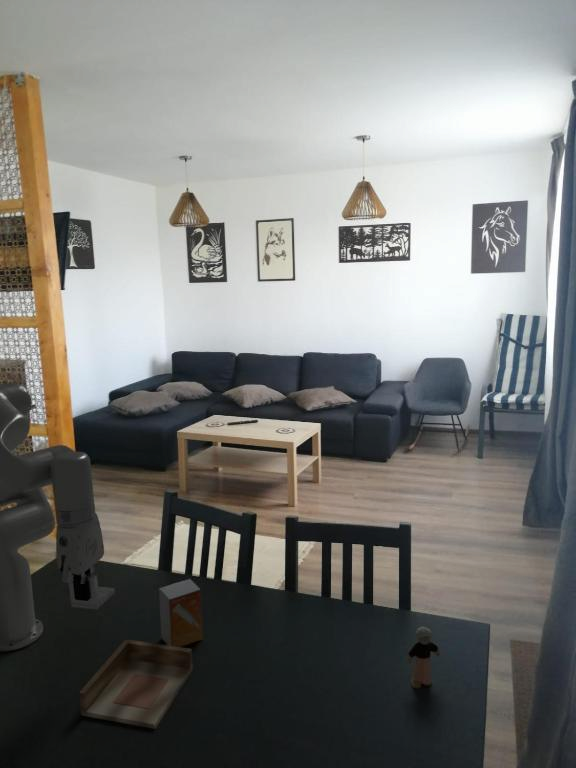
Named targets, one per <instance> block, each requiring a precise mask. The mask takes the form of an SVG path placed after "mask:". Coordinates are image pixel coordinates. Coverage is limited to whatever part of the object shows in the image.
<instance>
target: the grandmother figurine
mask: <svg viewBox="0 0 576 768" xmlns="http://www.w3.org/2000/svg"><path fill="white" fill-rule="evenodd" d="M415 637H416V639H417V640H418V642H416V643H415V644H414V645H413V646H412V648H411V649H410V651H409V652H408V654H407V656H406V658H405V664H410V663H411V661H412V659H413V658H414V662H413V669H412V677H411V681H410V682H411V686H412V688H414V689H420V688H422V685H424V686H432V684H433V682H432V680H431V658H432V657H431V652H432V653H434V655H435V656H436V657H439V656H441V653H440V651H439V647H438V645H436V644H435V643H434V642H431V638H432V637H433V632H432V630H431V629H430V628H428V627H426V626H420V627H418V628H417V629H416V631H415Z"/></svg>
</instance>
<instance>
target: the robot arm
mask: <svg viewBox="0 0 576 768" xmlns="http://www.w3.org/2000/svg"><path fill="white" fill-rule="evenodd" d="M32 401H33V400H32V396H31V394H30V392H29V391H28V389H27V388H26V387H25V386H24V385H22V384H20V383H19V382H18V383H17V382H5V383H0V508H2V507H3V506H7V505H11V504H12V503H17V504H18V505H14V506H12V507H11V506H10V507H7V508H5V509H2V510H0V652H10V651H16V650H18V649H19V650H20V649H22V648H25V647H27V646H29V645H31V644H33V643H34V642H35V641H37V640H38V639H39V638H40V637H41V636H42V633H43V632H44V625H43V623H42V621H41V620H39V619H38V618H36V614H35V605H34V595H33V594H34V593H33V584H32V575H31V568H30V563H29V561H28V560H27V558H26V557H25V556H23V555H22V554H20V553H19V551H18V550H19V549H20V548H23V547H24V546H27V545H29V544H31V543H33V542H36V541H39V540H41V539H44V538H46V537H48V536H49V535H51V534H52V533H53V532H54V530H55V528H56V533H55V535H56V536H55V539H56V541H55V542H56V543H55V544H56V545H55V549H56V551H55V552H56V562H57V567H58V568H57V569H58V572H59V573H60V574H62V583H68V584H69V582H71V583H73V587H74V596H75V599H76V600H82V601H88V600H89V599H90V595H89V586H88V582H86V577H85V574H92V575H95V565H96V563H98V562H99V561H100V560H101V559H102V558H103V557H104V555H105V546H104V538H103V533H102V528H101V523H100V520H99V516H98V514H97V512H96V507H95V496H94V487H93V486H94V485H93V475H92V467H91V466H92V465H91V458H90V456H89V455H88V454H87V453H86V452H84V451H75V450H74V449H72V448H71V447H69V446H67V445H63V444H58V445H54V446H49V447H45V448H42V449H38V450H34V451H30V452H27V453H23V454H18V455H17V454H15V453H14V452H12V451H13V450H15V449H16V448H17V447H18V446H20V445H21V444H22V443H23V442H24V441H25V440H26V439H27V436H28V434H29V433H30V428H31V423H30V420H29V419H28V417H27V415H28V414H29V412H30V411H31V410H32V406H33V402H32ZM50 485H52V492H53V493H52V494H53V503H54V510H55V513H54V511H53V508H52V506H51V504H50V502H49V501H48V498H47V496H46V494H45V492H44V490H43V488H45V487H47V486H50Z"/></svg>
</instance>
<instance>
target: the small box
mask: <svg viewBox="0 0 576 768" xmlns="http://www.w3.org/2000/svg"><path fill="white" fill-rule="evenodd" d="M158 594H159V595H158V597H159V612H160V631H161V634H160V635H161V639H162V640H163V642H165V645H168V646H175V647H182V648H183V647H185V646H187V645H190V644H193V643H195V642H199V641H202V640H203V617H202V616H203V614H202V592H201V588H200V587H199V586H198V585H197V584H196V583H195V582H194V581H193V580H192V579H191V578H188V579H185V580H182V581H179V582H175V583H172V584H169V585H165V586H163V587H159V588H158Z"/></svg>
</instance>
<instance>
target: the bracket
mask: <svg viewBox="0 0 576 768" xmlns="http://www.w3.org/2000/svg"><path fill="white" fill-rule="evenodd" d="M85 577H86V582H88V586H89V595H90V599H89V600H88V601H82V600H76V599H75V596H74V587H73V583H71V582H69V583H68V587H69V588H68V589H69V596H70V597H69V598H70V604H71V605H70V606H71V608H79V609H89V610H98V609H99V608H101V606H103V604H104V603H106V602H107V601H108V600H109V599H110V598H111V597H112V596H113V595H114V594H115V593H116V590H115V588H114V587H106V586H99V582H98V575H97V574H94V575H92V574H85Z"/></svg>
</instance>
